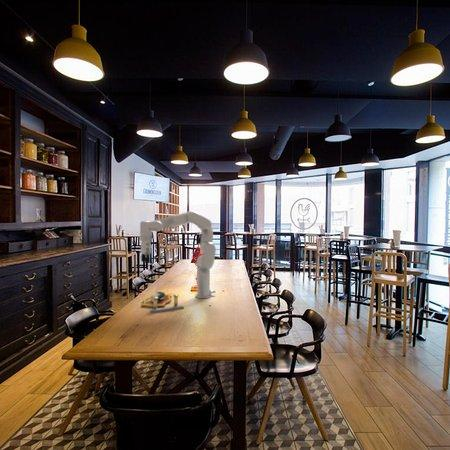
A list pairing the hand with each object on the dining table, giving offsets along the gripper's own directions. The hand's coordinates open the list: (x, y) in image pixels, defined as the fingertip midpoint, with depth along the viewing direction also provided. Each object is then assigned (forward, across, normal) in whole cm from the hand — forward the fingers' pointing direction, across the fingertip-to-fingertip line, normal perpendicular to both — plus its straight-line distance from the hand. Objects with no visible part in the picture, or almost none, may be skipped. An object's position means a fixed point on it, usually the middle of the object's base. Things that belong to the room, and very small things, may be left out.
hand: (145, 262), depth 223 cm
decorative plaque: (+29, -4, -7) cm, 31 cm away
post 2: (+29, -25, -14) cm, 40 cm away
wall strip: (+29, -27, -7) cm, 40 cm away
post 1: (+29, -24, 0) cm, 38 cm away
